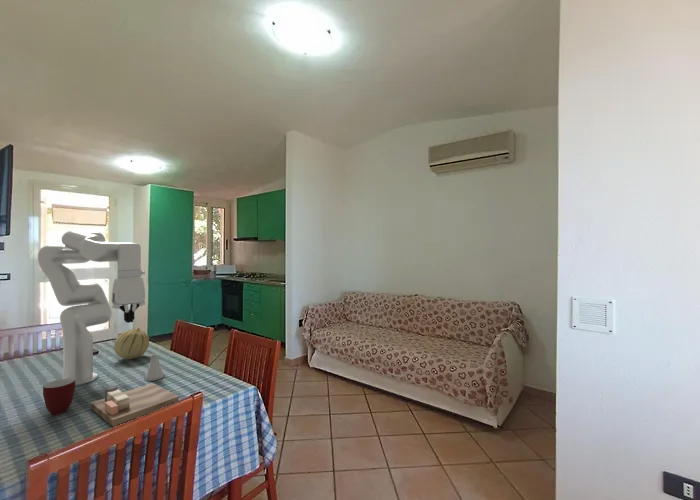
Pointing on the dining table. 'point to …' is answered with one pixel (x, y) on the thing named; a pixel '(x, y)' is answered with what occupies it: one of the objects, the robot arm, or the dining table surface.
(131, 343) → the cantaloupe
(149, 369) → the flask
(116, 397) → the folding leg
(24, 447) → the dining table surface
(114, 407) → the leg stop
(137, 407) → the stool seat board
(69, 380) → the mug
